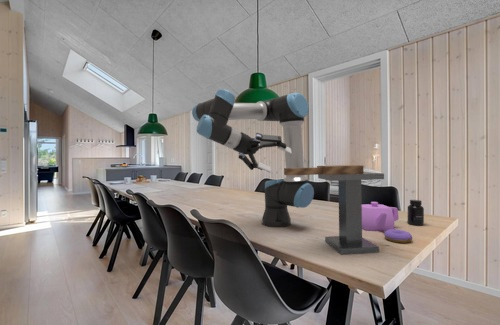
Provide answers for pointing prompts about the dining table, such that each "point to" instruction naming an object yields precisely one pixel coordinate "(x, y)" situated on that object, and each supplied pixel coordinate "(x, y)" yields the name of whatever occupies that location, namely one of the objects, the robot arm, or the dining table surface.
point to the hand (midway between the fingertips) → (280, 161)
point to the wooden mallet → (325, 170)
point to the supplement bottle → (415, 213)
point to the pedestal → (351, 214)
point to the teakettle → (378, 217)
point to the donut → (398, 236)
